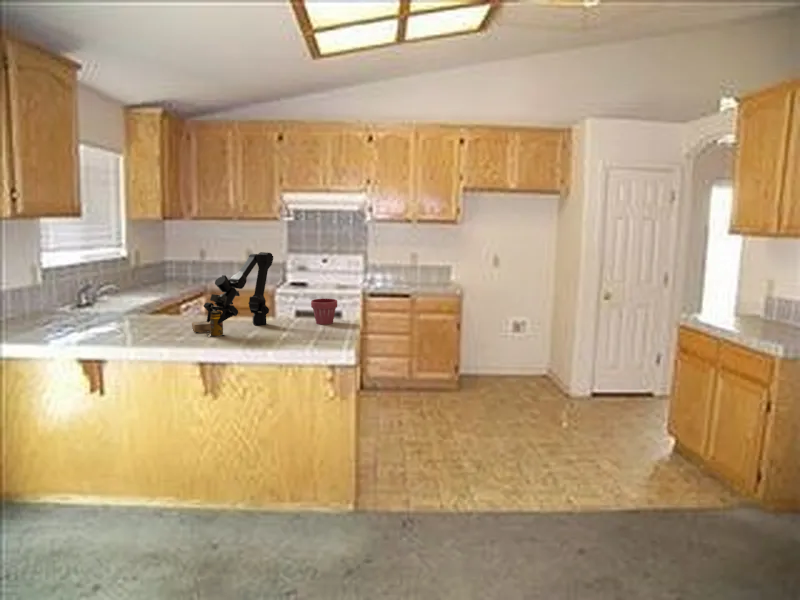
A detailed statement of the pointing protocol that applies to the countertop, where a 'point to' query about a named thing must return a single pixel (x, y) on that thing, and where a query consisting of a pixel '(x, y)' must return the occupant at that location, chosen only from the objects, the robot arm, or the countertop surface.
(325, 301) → the plant pot
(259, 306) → the robot arm
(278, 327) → the countertop surface
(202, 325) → the base block
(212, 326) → the condiment
